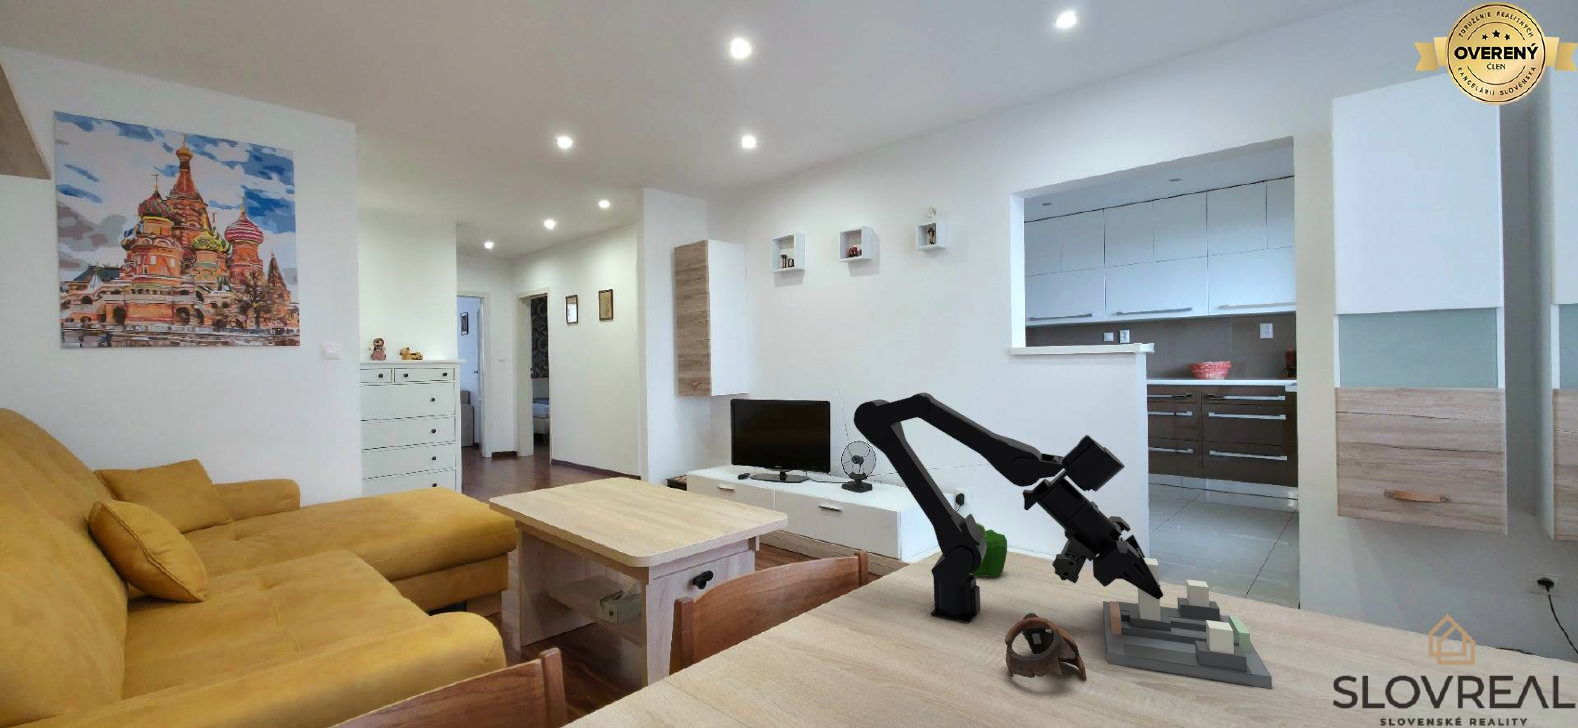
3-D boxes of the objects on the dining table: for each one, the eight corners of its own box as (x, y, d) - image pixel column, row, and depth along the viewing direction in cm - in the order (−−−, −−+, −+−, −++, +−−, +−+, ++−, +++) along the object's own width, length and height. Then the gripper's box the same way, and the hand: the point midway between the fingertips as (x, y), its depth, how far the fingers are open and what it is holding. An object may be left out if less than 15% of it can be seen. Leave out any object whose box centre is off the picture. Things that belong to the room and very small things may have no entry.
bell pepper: (1005, 567, 123) (1003, 517, 123) (1010, 582, 115) (1008, 528, 115) (962, 565, 125) (960, 516, 125) (963, 580, 117) (962, 527, 117)
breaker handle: (1131, 631, 89) (1128, 562, 89) (1129, 622, 92) (1127, 555, 92) (1171, 637, 87) (1169, 566, 87) (1168, 627, 90) (1165, 559, 90)
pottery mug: (1105, 695, 77) (1079, 646, 75) (1035, 724, 78) (1007, 677, 76) (1066, 630, 88) (1042, 586, 87) (1005, 656, 90) (981, 614, 88)
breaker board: (1108, 664, 83) (1106, 616, 83) (1102, 609, 101) (1101, 569, 101) (1272, 690, 76) (1271, 637, 76) (1235, 625, 94) (1234, 583, 94)
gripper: (1037, 529, 105) (1113, 603, 100) (1030, 563, 88) (1120, 654, 83) (1087, 486, 101) (1167, 560, 97) (1089, 512, 84) (1187, 603, 80)
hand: (1159, 593), depth 89 cm, fingers closed on breaker handle, 3 cm apart
